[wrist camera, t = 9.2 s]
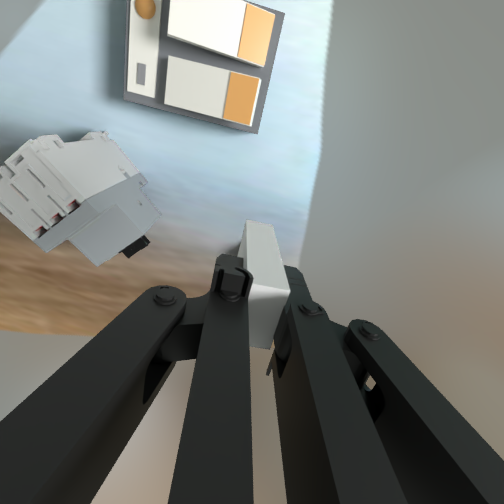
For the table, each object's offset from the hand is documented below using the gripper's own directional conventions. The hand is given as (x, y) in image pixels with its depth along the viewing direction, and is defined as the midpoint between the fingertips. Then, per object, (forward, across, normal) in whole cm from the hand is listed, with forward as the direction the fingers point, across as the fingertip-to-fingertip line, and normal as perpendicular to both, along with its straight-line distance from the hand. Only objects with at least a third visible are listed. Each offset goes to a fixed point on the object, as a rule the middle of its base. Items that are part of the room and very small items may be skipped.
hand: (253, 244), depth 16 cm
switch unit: (+26, -8, +11) cm, 30 cm away
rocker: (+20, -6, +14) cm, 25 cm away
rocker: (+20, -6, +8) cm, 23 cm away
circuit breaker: (+27, -17, -7) cm, 32 cm away
